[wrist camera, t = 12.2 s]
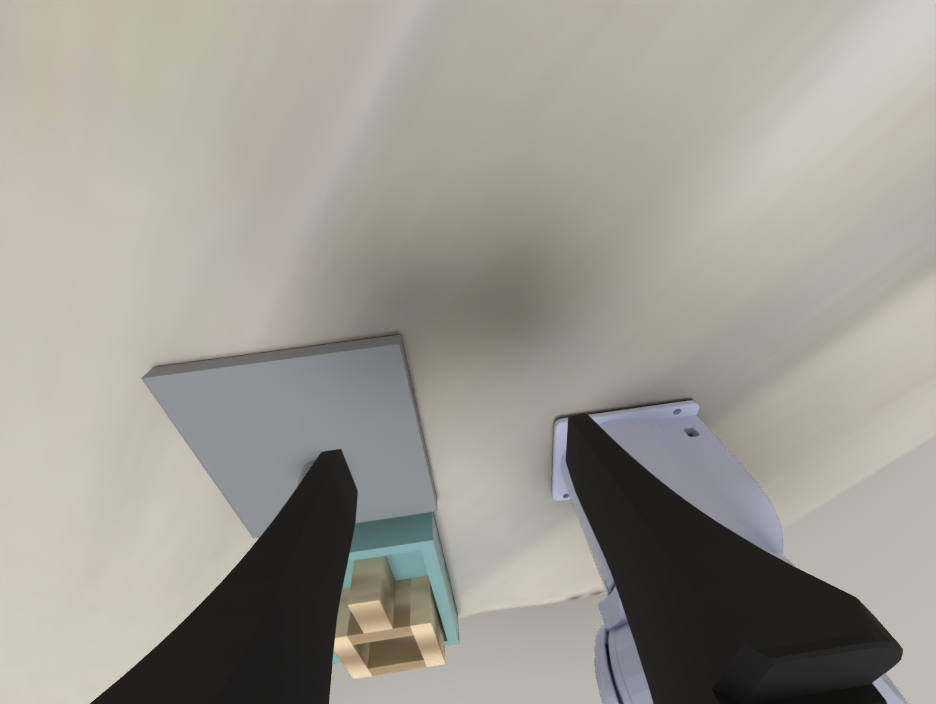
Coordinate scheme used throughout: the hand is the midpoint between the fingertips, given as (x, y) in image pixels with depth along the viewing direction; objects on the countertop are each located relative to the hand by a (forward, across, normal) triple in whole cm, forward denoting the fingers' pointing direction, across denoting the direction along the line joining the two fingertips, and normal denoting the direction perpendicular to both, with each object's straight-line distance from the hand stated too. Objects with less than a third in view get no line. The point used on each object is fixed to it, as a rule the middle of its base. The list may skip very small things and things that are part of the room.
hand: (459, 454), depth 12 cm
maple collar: (+9, +8, +25) cm, 28 cm away
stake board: (+9, +9, +7) cm, 15 cm away
